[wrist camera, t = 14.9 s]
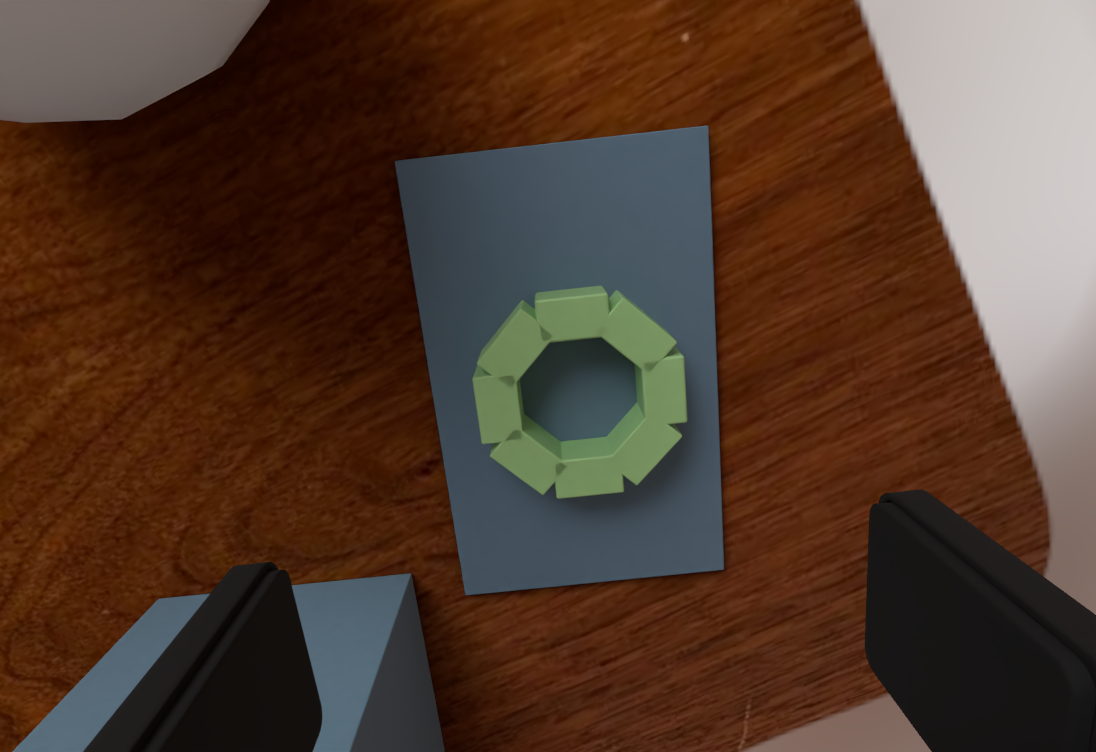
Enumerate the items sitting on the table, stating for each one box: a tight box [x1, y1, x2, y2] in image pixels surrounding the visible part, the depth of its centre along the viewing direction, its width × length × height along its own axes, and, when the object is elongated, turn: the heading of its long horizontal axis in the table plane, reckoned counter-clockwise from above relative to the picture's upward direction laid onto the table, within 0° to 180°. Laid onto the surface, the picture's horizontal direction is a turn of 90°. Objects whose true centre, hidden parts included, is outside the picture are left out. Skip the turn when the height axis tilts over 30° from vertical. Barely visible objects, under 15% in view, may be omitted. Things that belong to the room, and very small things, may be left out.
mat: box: [395, 126, 724, 595], centre depth 22 cm, size 10×16×1 cm, turn 6°
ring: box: [472, 286, 687, 499], centre depth 21 cm, size 7×7×2 cm
